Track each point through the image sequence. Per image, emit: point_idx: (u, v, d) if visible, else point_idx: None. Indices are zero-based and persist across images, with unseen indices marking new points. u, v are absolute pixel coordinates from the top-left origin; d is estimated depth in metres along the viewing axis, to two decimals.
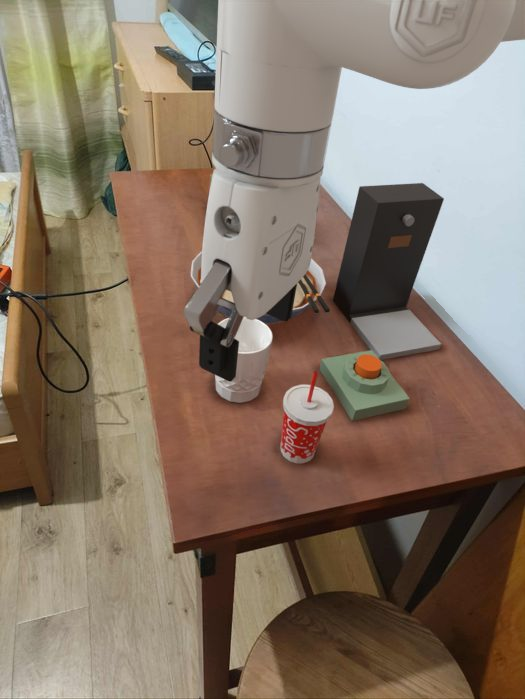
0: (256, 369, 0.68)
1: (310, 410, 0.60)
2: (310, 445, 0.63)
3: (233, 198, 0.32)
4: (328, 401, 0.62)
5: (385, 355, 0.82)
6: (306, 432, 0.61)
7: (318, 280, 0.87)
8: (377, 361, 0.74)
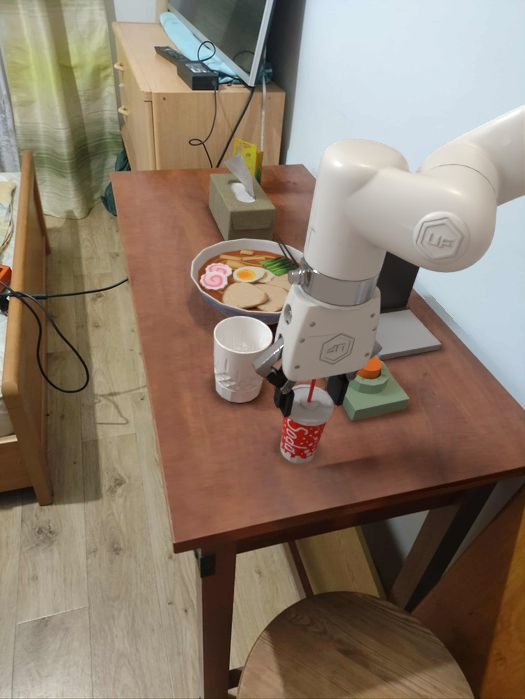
0: None
1: (310, 410, 0.60)
2: (310, 445, 0.63)
3: (292, 301, 0.49)
4: (328, 401, 0.62)
5: (385, 355, 0.82)
6: (306, 432, 0.61)
7: None
8: (377, 361, 0.74)
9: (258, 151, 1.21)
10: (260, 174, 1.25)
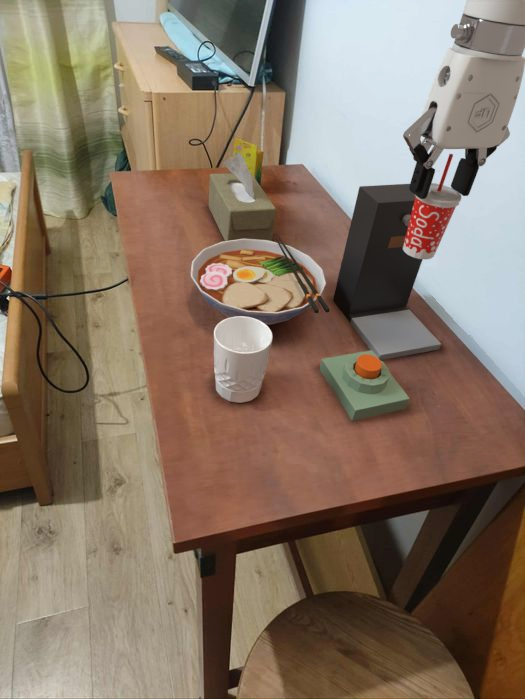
0: (256, 369, 0.68)
1: (441, 196, 0.67)
2: (437, 235, 0.70)
3: (451, 60, 0.56)
4: (455, 193, 0.69)
5: (385, 355, 0.82)
6: (437, 217, 0.68)
7: (318, 280, 0.87)
8: (377, 361, 0.74)
9: (258, 151, 1.21)
10: (260, 174, 1.25)
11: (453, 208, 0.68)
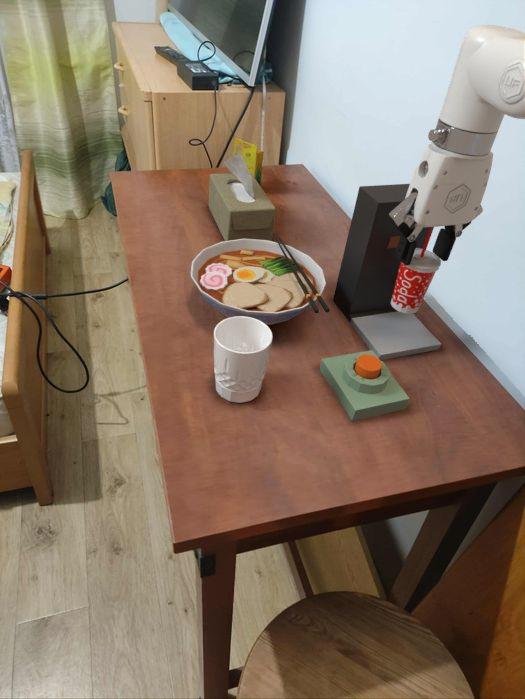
0: (256, 369, 0.68)
1: (423, 262, 0.77)
2: (420, 294, 0.80)
3: (429, 157, 0.66)
4: (435, 258, 0.78)
5: (385, 355, 0.82)
6: (420, 280, 0.77)
7: (318, 280, 0.87)
8: (377, 361, 0.74)
9: (258, 151, 1.21)
10: (260, 174, 1.25)
11: (434, 272, 0.77)
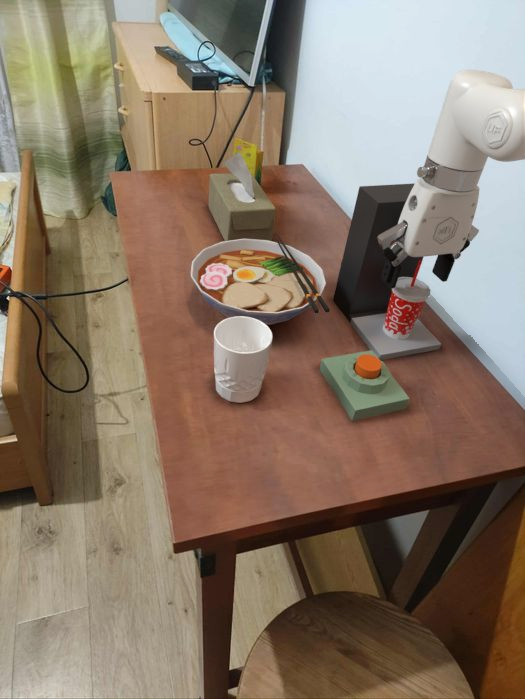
0: (256, 369, 0.68)
1: (413, 292, 0.80)
2: (410, 322, 0.83)
3: (418, 192, 0.69)
4: (425, 287, 0.82)
5: (385, 355, 0.82)
6: (410, 308, 0.81)
7: (318, 280, 0.87)
8: (377, 361, 0.74)
9: (258, 151, 1.21)
10: (260, 174, 1.25)
11: (423, 301, 0.81)
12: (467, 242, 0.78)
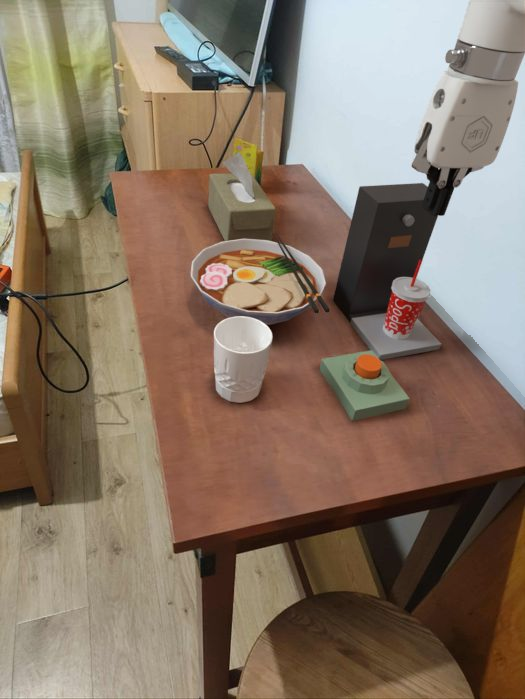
0: (256, 369, 0.68)
1: (413, 292, 0.80)
2: (410, 322, 0.83)
3: (446, 84, 0.58)
4: (425, 287, 0.82)
5: (385, 355, 0.82)
6: (410, 308, 0.81)
7: (318, 280, 0.87)
8: (377, 361, 0.74)
9: (258, 151, 1.21)
10: (260, 174, 1.25)
11: (423, 301, 0.81)
12: None
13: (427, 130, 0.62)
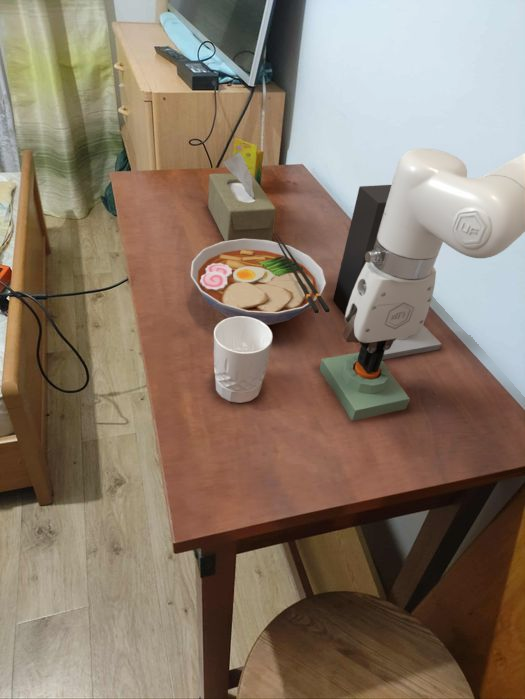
0: (256, 369, 0.68)
1: None
2: None
3: (367, 277, 0.62)
4: None
5: (385, 355, 0.82)
6: None
7: (318, 280, 0.87)
8: None
9: (258, 151, 1.21)
10: (260, 174, 1.25)
11: None
12: None
13: (354, 308, 0.66)
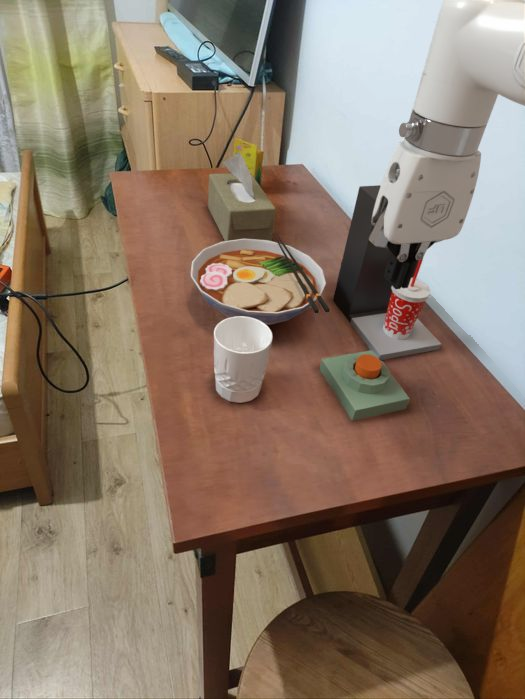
0: (256, 369, 0.68)
1: (413, 292, 0.80)
2: (410, 322, 0.83)
3: (401, 158, 0.53)
4: (425, 287, 0.82)
5: (385, 355, 0.82)
6: (410, 308, 0.81)
7: (318, 280, 0.87)
8: (377, 361, 0.74)
9: (258, 151, 1.21)
10: (260, 174, 1.25)
11: (423, 301, 0.81)
12: None
13: (384, 203, 0.57)
